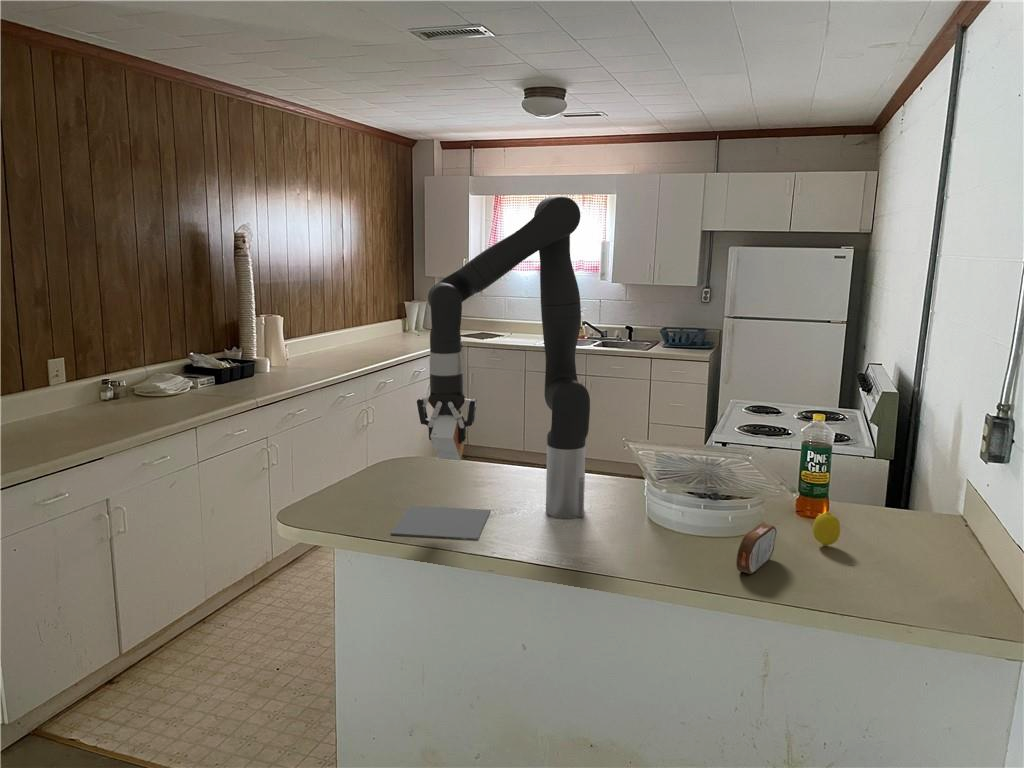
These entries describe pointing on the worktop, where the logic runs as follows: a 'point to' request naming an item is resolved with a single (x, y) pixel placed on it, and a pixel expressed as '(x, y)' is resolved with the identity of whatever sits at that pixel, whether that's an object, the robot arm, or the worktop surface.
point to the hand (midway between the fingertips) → (447, 442)
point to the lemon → (826, 528)
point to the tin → (756, 548)
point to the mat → (442, 522)
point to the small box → (447, 438)
